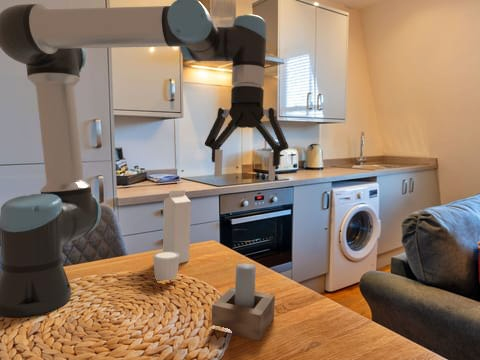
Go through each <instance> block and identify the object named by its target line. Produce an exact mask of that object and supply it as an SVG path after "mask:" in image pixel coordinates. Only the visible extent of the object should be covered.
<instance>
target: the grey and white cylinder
mask: <svg viewBox="0 0 480 360" xmlns="http://www.w3.org/2000/svg"><path fill="white" fill-rule="evenodd" d="M179 256H180V255H179V253H176V252H172V251H164V252H163V251H159V252H156V253H154V254H153V256H152V257H153V269H154V270H153V271H154V280H155V279H157V280H160V281H163V280H171V279H173V278H175V277H177V278H178V271H179Z"/></svg>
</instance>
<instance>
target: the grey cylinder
mask: <svg viewBox="0 0 480 360" xmlns="http://www.w3.org/2000/svg"><path fill="white" fill-rule="evenodd" d="M256 270H257V268H256V265H254V264H251V263H238V264H236V266H235V287H234V288H235V305H238V306H242V307H247V308H252V309H254V297H255V292H256V274H257V273H256V272H257V271H256Z"/></svg>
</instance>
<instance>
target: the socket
mask: <svg viewBox="0 0 480 360" xmlns="http://www.w3.org/2000/svg"><path fill="white" fill-rule="evenodd" d="M275 296H276V295H274V294H268V293H264V292H259V291H255V297H254V309H252V308H247V307H242V306H238V305H235V287H230V288H229V289H228V290H226V291H225V293H223V294H222V295H221V296H220V297H219V298H218V299H217V300H216V301H215V302H214V303H213V304H212V305H211V326H212V325H215V326H220V327H224V328H228V329H230V330H231V331H232V334H231V335H233V336H237V337H242V338H245V339H246V338H247V339H250V340H255V341H257V342H259V341H261V339H262V337H263V336H264V334H265V333H266V331H267V330H268V328H269V326H270V325H271V323H272V322H273V320H274V319H275V318H274V317H275V299H276V297H275Z"/></svg>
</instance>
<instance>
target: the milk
mask: <svg viewBox="0 0 480 360" xmlns="http://www.w3.org/2000/svg"><path fill="white" fill-rule="evenodd" d="M191 207H192V201H191V200H190V199H189V198H188V196H187V195H186V190H185V189H181V190H180V189H179V190H171V191H169V193H168V197H166V198H165V199H164V200H163V210H162V211H163V213H162V215H163V217H162V219H163V221H162V222H163V223H162V252H164V251H172V252H176V253H179V255H180V256H179V264H183V263H186V262H190V255H191V252H190V251H191V250H190V248H191V214H192V213H191V212H192V211H191V210H192V208H191Z"/></svg>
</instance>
